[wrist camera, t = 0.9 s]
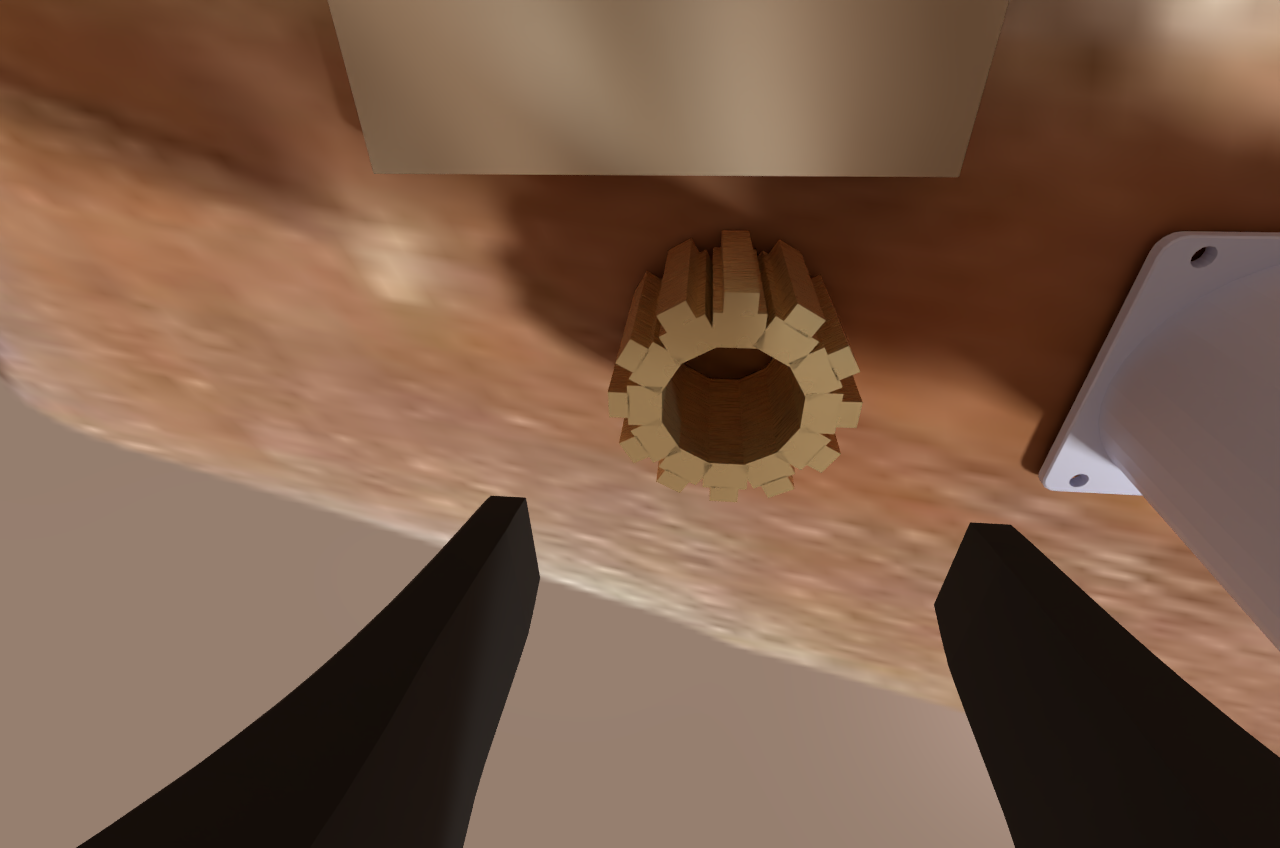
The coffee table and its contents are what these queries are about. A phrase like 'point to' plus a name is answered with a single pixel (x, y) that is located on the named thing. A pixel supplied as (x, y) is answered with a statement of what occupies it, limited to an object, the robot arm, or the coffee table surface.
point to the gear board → (668, 85)
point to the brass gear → (722, 408)
